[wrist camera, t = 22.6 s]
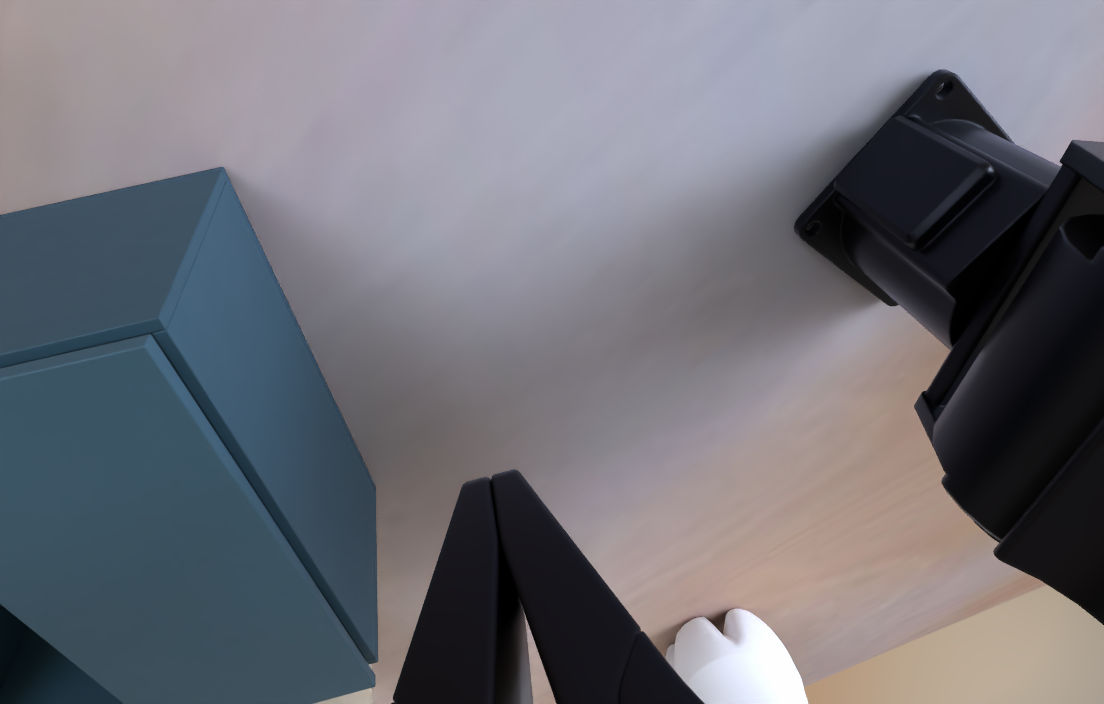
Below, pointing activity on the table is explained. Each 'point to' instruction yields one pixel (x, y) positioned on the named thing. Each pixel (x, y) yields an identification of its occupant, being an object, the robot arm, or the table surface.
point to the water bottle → (735, 662)
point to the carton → (192, 378)
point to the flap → (153, 542)
